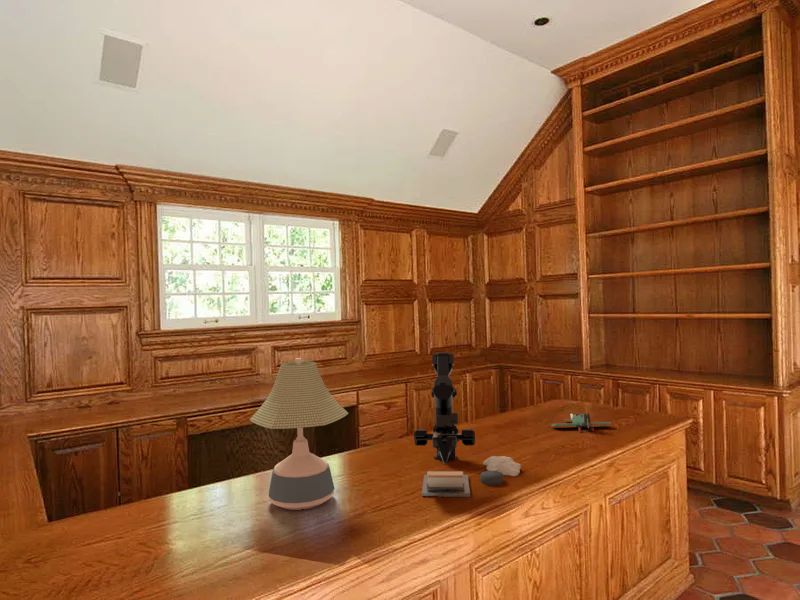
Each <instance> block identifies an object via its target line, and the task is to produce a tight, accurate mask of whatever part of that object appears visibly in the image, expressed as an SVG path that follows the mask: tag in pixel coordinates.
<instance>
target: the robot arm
mask: <svg viewBox="0 0 800 600" xmlns="http://www.w3.org/2000/svg"><path fill="white" fill-rule="evenodd" d="M454 365H455V355H454V354H453V353H451V352H444V351H442V352H435V354H431V366H433V369H434V372H435V374H436V377H437V378H436V379H434V381H433V386H431V398H433V401H434V420H435V421H434V425H433V426H432V429H433V431H432V433H428V431H427V429H424V428H423V429H415V430H414V431H413V439H414V445H415V446H416V447H418V446H419V447H425V446H427V444H428V441H432V448H433V449H436V455H434V456H433V458H434V459H435V458H436V459H435V460H439V461H441V462H443V463H442V464H443V465H445V464H447V463H448V462H450V461H453V460H457V459H458V458H459V456H457V455H456V448H457V443H458V442H459V441H461V444H462V445H463V446H466V447H467V446H470V447H471V446H475V444H476V431H475V430H474V429H473V428H463V429H462V428H461V433H459V432H460V431H459V428H457V425H458V424H459V417H458V414H459V413H458V412H454V411H453V409H454V408H453V400H454V398H456V396H458V391H457V389H456V387H455V386H453V380H452V379H451V378H450V375H451V374H452V372H453V366H454Z"/></svg>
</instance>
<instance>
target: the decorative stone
mask: <svg viewBox="0 0 800 600" xmlns="http://www.w3.org/2000/svg"><path fill="white" fill-rule="evenodd" d="M482 465H483V466H486V471H497V472H501V473H502V474H503V476H510V477H518V476H519V475H520V473H521V472H520V471H521V468H522V465H521V464H520V463H518V462H516V461H514V459H513V458H512V457H509V456H505V455H503V456H501V455H500V456H496V455H492V456H490V457H488V458H486V459H485V460H484V461H483V462H482Z"/></svg>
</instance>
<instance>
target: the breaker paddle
mask: <svg viewBox="0 0 800 600" xmlns="http://www.w3.org/2000/svg"><path fill="white" fill-rule="evenodd" d="M426 475H427V477H428V483H427V489H464V483H463V475H464V471H445V470H444V471H429V470H428V471H426Z"/></svg>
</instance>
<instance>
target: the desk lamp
mask: <svg viewBox="0 0 800 600" xmlns="http://www.w3.org/2000/svg"><path fill="white" fill-rule="evenodd" d="M347 415H349V412H348V411H347V410H346V409H345V408H344V407H343V406H342V405H341V404H340V403H339V402H338V401H337V400H336V399H335V398H334V396H333V395H332V394H331V392H330V391H329V389H328V388H327V386H326V384H325V382H324V381H323V378H322V376H321V373H320V370H319V368H318V366H317V363H316V362H314V361H308V360H307V361H306V360H305V361H302V358H301V357H296V358H294V361H290V362H284V363H280V366H279V370H278V373H277V376H276V378H275V381H274V384H273V386H272V389H271V391H270V392H269V394H268V396H267V397H266V399H265V400H264V402H263V403H262V405H261V406H260V407H259V408H258V409H257V410H256V411H255V413H254V414H253V415H252V416H251V417H250V419H249V421H250V422H252V423H253V424H256V425H258V426H260V427H263V428H266V429H270V430H271V429H272V430H280V429H281V430H283V429H284V430H286V429H287V430H288V429H297V437H295V439H294V440H293V442H292V450H291V452H292V453H291V454H290V455H288V456H287V457H285V458H284V459H283V460H281V461H280V462H278V463H277V464H276V465H274V468H273V469H272V470H271V471H272V473H271V478H270V484H269V489H268V498H269V499H268V501H269V502H270V503H272V504H273V505H274V506H277V507H280V508H282V509H286V510H290V511H302V510H301V509H304V510H309V509H313V508H316V507H318V506H320V505H322V504H323V503H325V502H327V501H328V500H330V499H331V498H333V497H332V496H333V495H335V489H336V488H335V486H334V485H335V484H334V482H333V476H332V473H331V469H330V468H331V467H330V464H329V463H328V461H327V460H326V459H324V458H321V457H319V456H318V455H316V454H315V453H312V452H310V448H309V442H308V439H307V438H306V437H305V436H304V428H313V427H323V426H327V425H329V424H333V423H334V422H337V421H339V420H341V419H342V418H345V417H346V416H347Z"/></svg>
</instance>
